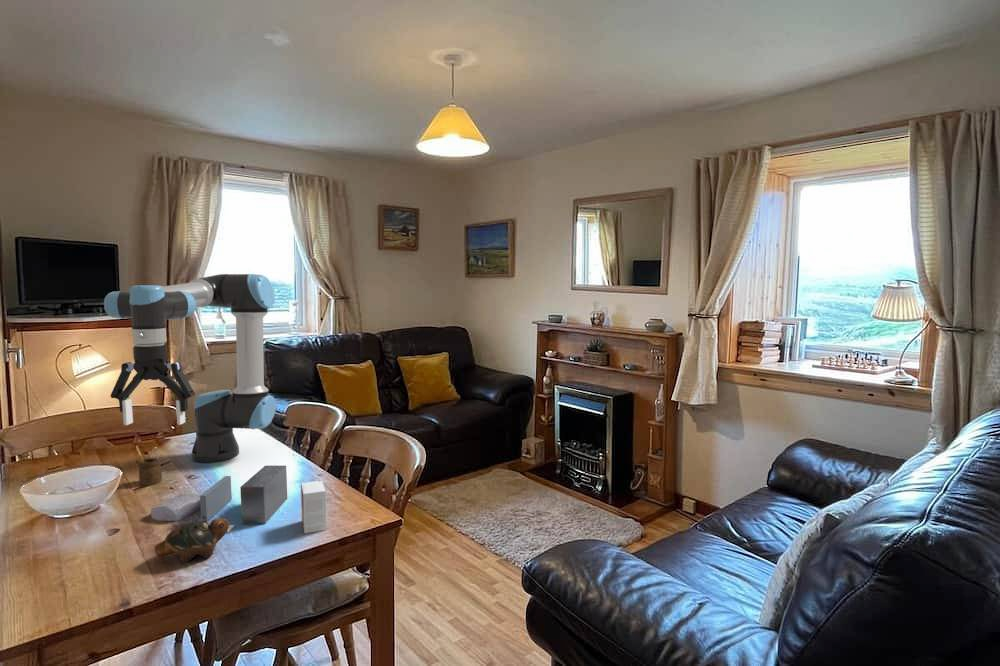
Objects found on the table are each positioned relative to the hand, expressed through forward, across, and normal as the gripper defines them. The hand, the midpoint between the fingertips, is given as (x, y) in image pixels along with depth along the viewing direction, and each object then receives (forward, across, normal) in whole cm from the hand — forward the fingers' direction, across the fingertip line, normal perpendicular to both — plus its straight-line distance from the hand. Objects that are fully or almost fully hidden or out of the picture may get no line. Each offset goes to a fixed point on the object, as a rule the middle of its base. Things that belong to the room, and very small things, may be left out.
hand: (155, 423), depth 145 cm
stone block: (+26, +4, +2) cm, 26 cm away
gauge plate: (+25, +14, -1) cm, 29 cm away
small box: (+25, +43, -8) cm, 51 cm away
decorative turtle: (+25, +20, -23) cm, 39 cm away
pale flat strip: (+25, +18, -10) cm, 32 cm away
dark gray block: (+25, +28, +1) cm, 37 cm away
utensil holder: (+25, -16, +24) cm, 38 cm away
